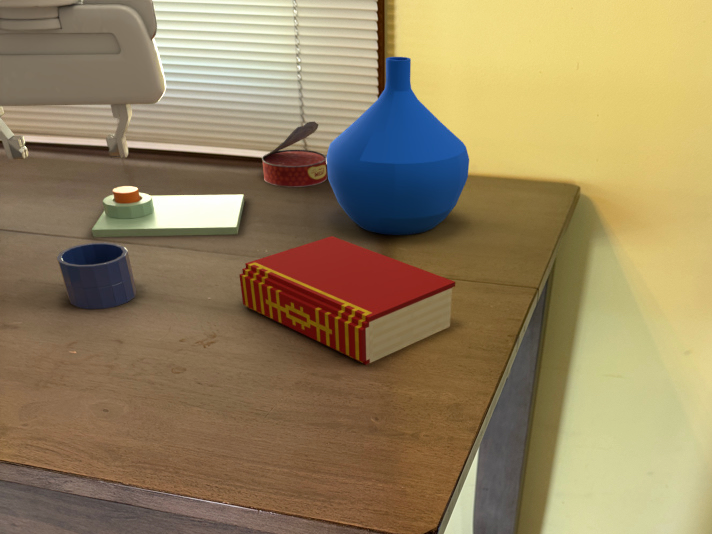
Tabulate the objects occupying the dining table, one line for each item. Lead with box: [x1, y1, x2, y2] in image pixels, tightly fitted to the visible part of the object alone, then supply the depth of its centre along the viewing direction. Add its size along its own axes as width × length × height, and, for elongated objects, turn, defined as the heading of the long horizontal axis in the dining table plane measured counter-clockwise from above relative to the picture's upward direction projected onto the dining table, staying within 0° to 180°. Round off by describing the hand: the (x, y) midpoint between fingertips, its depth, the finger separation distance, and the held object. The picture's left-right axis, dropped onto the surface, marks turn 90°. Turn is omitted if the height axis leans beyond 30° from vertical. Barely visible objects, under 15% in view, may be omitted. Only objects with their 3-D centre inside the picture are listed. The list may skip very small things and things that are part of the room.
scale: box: [91, 192, 245, 238], centre depth 101 cm, size 18×14×3 cm
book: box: [238, 235, 456, 366], centre depth 77 cm, size 18×13×5 cm
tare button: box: [112, 185, 140, 204], centre depth 99 cm, size 3×3×2 cm
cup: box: [56, 242, 137, 310], centre depth 80 cm, size 7×7×5 cm
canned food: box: [261, 121, 328, 188], centre depth 116 cm, size 11×10×10 cm
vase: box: [325, 56, 470, 236], centre depth 96 cm, size 18×18×19 cm
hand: (69, 157), depth 72 cm, fingers open, 8 cm apart
